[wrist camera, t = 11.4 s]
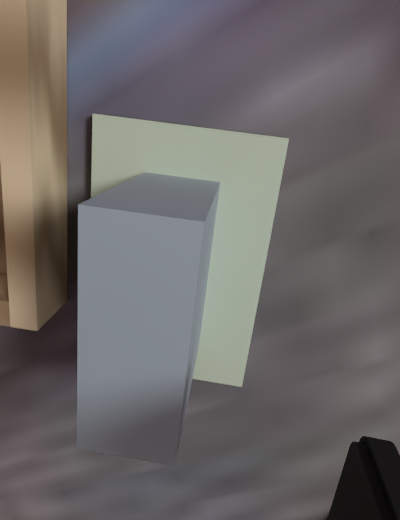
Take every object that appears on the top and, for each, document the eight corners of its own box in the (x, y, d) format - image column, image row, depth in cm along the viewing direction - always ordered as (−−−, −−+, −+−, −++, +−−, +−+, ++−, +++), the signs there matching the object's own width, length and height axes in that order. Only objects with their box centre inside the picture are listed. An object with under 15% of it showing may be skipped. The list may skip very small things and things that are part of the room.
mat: (241, 380, 20) (241, 386, 19) (91, 355, 20) (87, 361, 20) (287, 138, 15) (289, 138, 15) (96, 114, 16) (92, 113, 16)
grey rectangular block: (198, 345, 19) (174, 466, 12) (135, 335, 19) (77, 448, 12) (220, 182, 16) (204, 222, 9) (145, 172, 16) (77, 204, 10)
